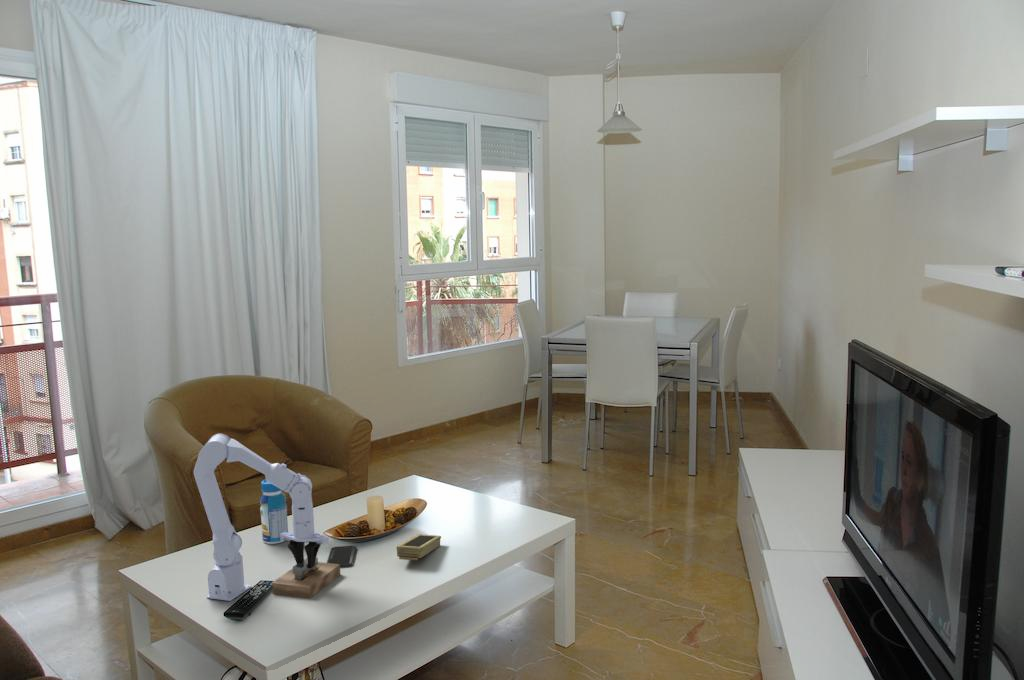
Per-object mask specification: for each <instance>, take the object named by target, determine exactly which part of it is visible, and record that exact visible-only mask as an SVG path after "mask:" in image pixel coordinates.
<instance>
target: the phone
mask: <svg viewBox="0 0 1024 680" xmlns="http://www.w3.org/2000/svg"><path fill="white" fill-rule="evenodd" d="M356 552H357V545H345V546H334V547H333V546H332V547H331V548H330V551H329V554H328V558H327V560H326V563H332V564H340V569H342V568H350V567H351V568H352V567H353V565H354V560H355V556H356Z"/></svg>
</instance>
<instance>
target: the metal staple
mask: <svg viewBox="0 0 1024 680" xmlns="http://www.w3.org/2000/svg"><path fill="white" fill-rule="evenodd" d="M318 562H319V558H318V557H317V556H316V560H315V566H314V567H312V568H311V569H310V568H309V567H308V559H307V557H305V558H304V560H302V561H301V562H299V563H298V564H297V563H296V564H295V565H293V566H292V568H293V574H295V580H304V579H305V573H306V572H307V571H311V572H315V571H316V570H317V565H318Z"/></svg>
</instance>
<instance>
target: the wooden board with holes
mask: <svg viewBox="0 0 1024 680" xmlns="http://www.w3.org/2000/svg"><path fill="white" fill-rule="evenodd" d="M340 575H341V568H340V564H332V563H327V562H323V561H322V562H321V561H318V565H317V570H316V571H315V572H311V571H307V572H306V573H305V579H304V580H295V574H293V567H292V568H291V569H290V570H288V571H286V572H284V574H282V575H281V576H279V577H278V578H276V579H274V581H272V582H271V587H272V586H273V589H274V590H272V589H271V592H272V593H271V594H274V595H275V594H276V595H283V596H284V595H286V596H291V597H299V598H307V599H311V598H312V597H313V596H315V595H316V594H317V593H319V591H321V590H322V589H324V588H325V587H326V586H327V585H329V584H330V583H331V582H333V581H334V580H335V579H336V578H338V577H339V576H340Z"/></svg>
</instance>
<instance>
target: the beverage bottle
mask: <svg viewBox="0 0 1024 680" xmlns="http://www.w3.org/2000/svg"><path fill="white" fill-rule="evenodd" d="M260 483H261V484H260V487H261V489H260V490H261V492H262V495H261V497H260V500H259V504H260V508H259V512H260V519H261V520H260V521H261V533H262V542H263V543H265V544H269V545H275V544H281V543H283V542H285V541H287V540H285V541H281V540H280V534H281V533H283V532H289V526H288V525H289V524H288V505H287V503H286V502H287V497H286V495H285V493H284V491H283V490H281V489H280V488H278V487H276V486H274V485H273V484H271V483H269V482H268V481H266V478H265V479H263V480H262V481H261V482H260Z"/></svg>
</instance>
